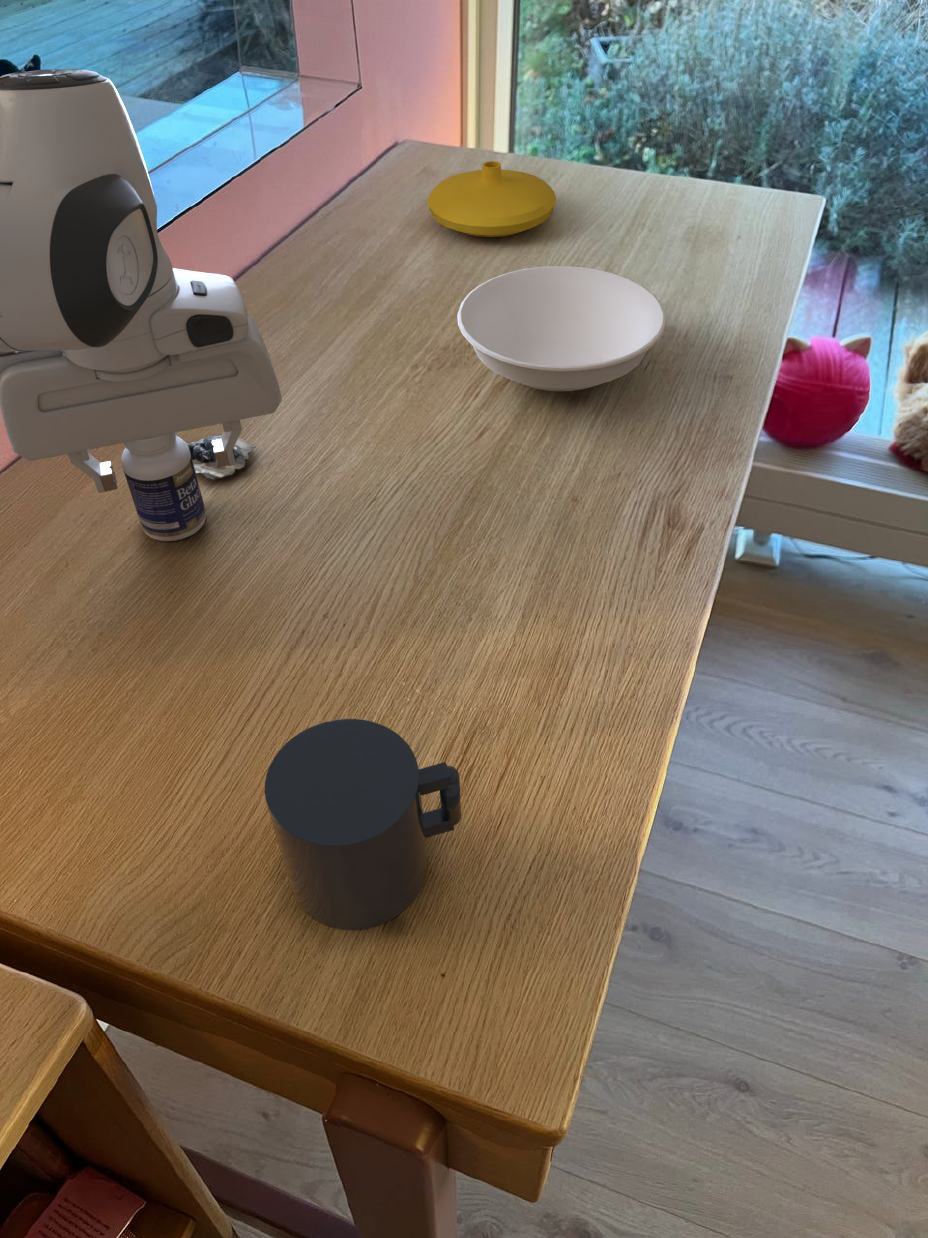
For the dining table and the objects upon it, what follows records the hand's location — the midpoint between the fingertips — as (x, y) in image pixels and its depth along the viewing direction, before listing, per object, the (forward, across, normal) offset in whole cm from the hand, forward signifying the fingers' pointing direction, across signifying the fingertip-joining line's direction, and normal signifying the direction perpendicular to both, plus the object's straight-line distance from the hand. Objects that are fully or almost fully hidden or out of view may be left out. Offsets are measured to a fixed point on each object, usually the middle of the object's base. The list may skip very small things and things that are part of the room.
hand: (167, 474), depth 81 cm
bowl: (+6, +38, +12) cm, 40 cm away
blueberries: (+5, +3, +8) cm, 10 cm away
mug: (+5, +8, -37) cm, 38 cm away
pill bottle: (+5, -1, 0) cm, 5 cm away
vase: (+6, +43, +47) cm, 64 cm away
